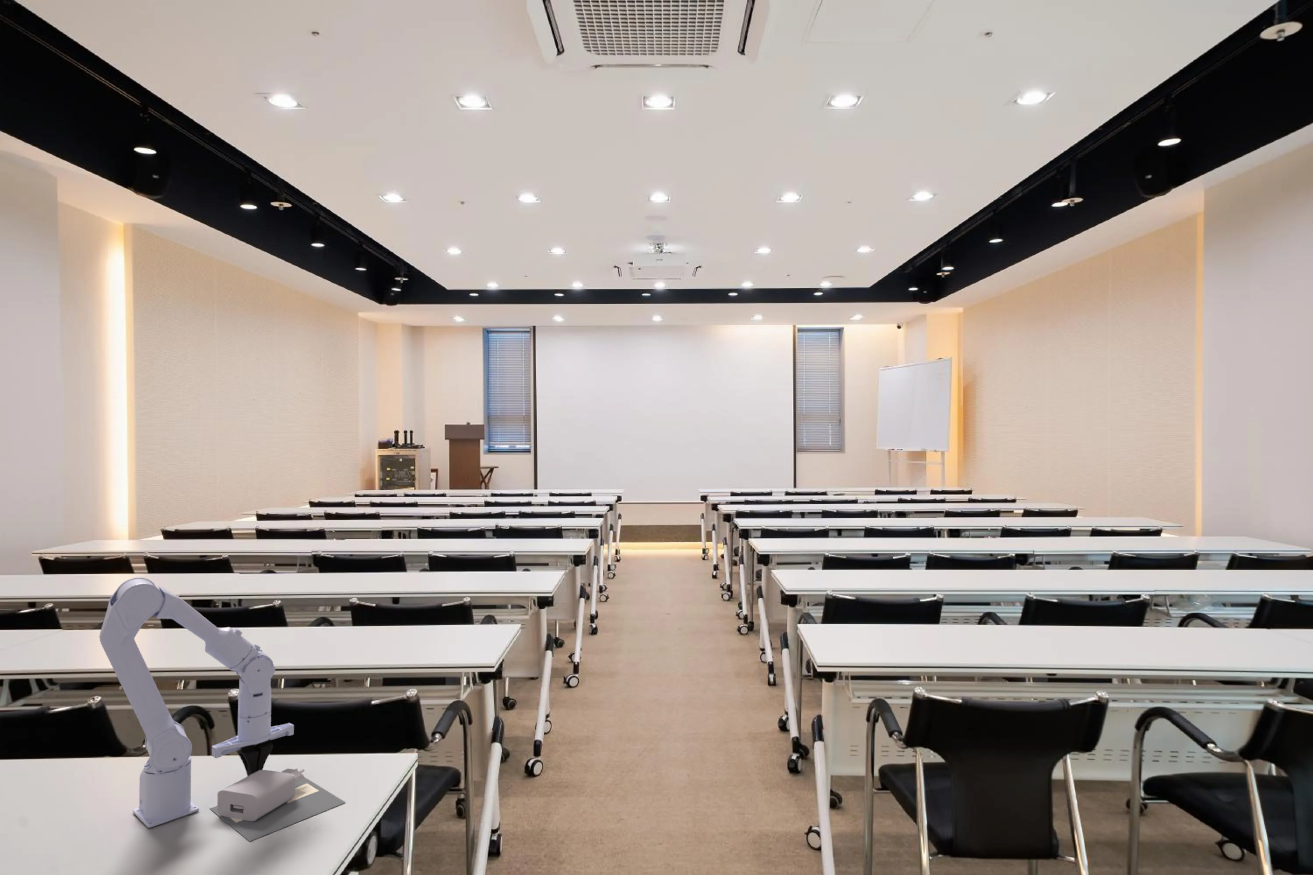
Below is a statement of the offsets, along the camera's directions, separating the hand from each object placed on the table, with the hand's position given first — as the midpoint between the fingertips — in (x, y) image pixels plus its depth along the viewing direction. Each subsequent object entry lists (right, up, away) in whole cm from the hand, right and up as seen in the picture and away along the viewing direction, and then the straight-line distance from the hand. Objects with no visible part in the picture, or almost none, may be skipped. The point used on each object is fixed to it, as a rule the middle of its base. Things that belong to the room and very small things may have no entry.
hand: (253, 781), depth 138 cm
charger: (+6, -1, -5) cm, 8 cm away
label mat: (+9, -1, -7) cm, 11 cm away
